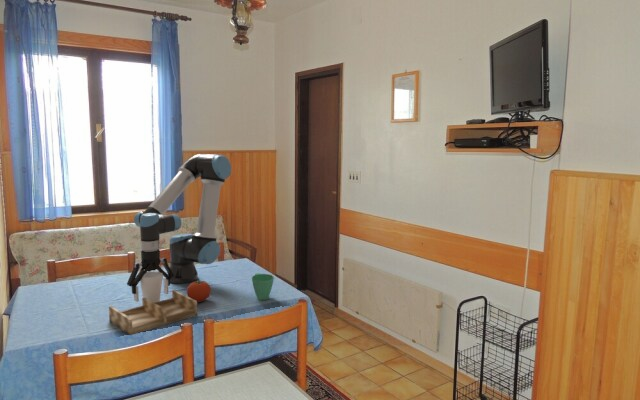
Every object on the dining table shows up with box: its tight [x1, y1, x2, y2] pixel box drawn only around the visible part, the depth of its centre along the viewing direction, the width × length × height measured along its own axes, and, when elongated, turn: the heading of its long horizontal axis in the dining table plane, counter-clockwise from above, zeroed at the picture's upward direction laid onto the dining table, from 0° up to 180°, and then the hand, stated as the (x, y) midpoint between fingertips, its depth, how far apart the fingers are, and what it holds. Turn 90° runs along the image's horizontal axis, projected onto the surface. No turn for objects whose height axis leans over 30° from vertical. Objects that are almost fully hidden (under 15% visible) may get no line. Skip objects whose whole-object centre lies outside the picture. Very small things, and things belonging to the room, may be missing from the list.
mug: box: [251, 272, 275, 301], centre depth 210 cm, size 15×10×10 cm
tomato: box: [186, 279, 212, 303], centre depth 202 cm, size 10×10×10 cm
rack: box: [108, 289, 198, 336], centre depth 183 cm, size 18×28×6 cm, turn 137°
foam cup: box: [139, 270, 164, 303], centre depth 198 cm, size 10×9×13 cm
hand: (151, 297), depth 199 cm, fingers open, 13 cm apart
